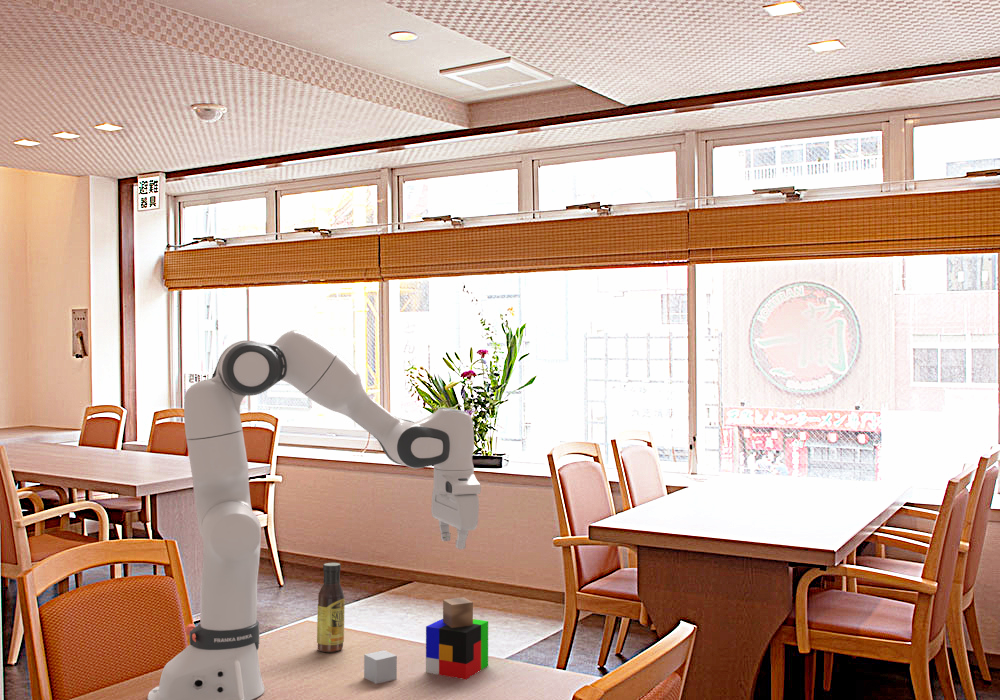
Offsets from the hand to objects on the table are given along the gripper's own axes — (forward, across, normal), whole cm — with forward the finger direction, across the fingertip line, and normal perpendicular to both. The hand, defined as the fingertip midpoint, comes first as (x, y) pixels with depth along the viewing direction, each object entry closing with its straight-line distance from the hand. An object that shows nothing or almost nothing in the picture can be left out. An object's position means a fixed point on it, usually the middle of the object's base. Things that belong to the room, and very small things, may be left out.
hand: (452, 544), depth 208 cm
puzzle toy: (+28, +1, +1) cm, 28 cm away
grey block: (+27, 0, -16) cm, 32 cm away
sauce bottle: (+28, -24, -21) cm, 42 cm away
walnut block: (+17, +1, +1) cm, 17 cm away
